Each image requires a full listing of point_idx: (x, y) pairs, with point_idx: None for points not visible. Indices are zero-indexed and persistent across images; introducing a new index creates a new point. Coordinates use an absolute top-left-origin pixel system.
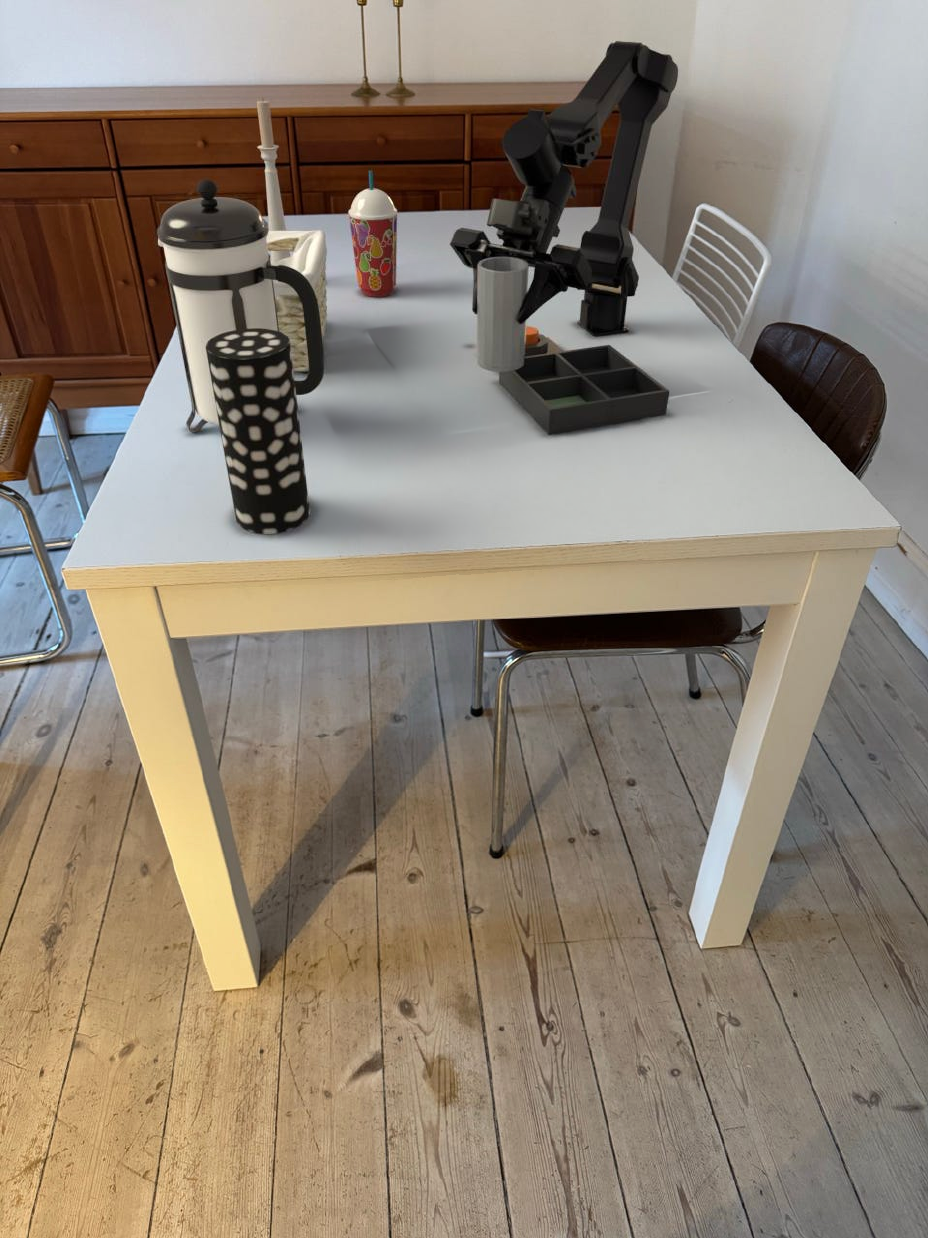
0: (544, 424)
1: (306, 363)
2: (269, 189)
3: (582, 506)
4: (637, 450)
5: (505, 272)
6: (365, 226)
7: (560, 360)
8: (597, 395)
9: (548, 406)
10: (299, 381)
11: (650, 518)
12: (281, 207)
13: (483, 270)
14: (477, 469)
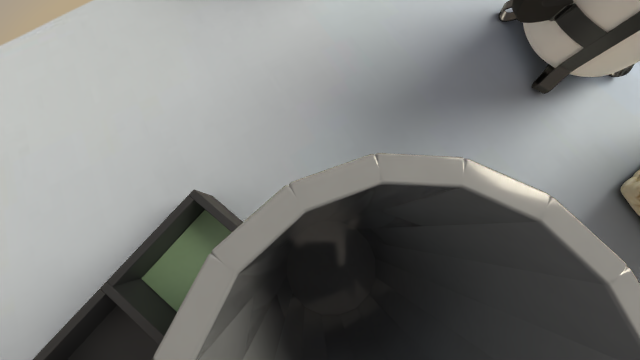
0: (219, 203)
1: (636, 183)
2: None
3: (108, 57)
4: (74, 218)
5: (279, 194)
6: None
7: None
8: (144, 308)
9: (201, 200)
10: (545, 4)
11: (24, 69)
12: None
13: (484, 169)
14: (255, 72)
